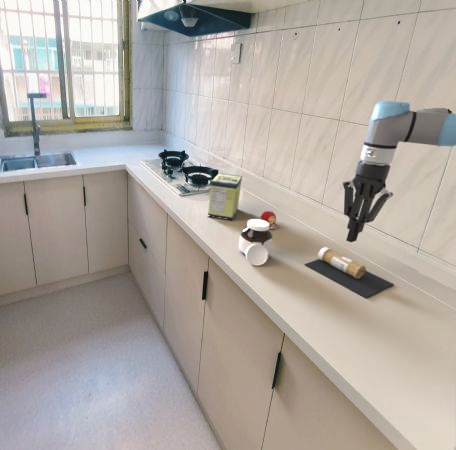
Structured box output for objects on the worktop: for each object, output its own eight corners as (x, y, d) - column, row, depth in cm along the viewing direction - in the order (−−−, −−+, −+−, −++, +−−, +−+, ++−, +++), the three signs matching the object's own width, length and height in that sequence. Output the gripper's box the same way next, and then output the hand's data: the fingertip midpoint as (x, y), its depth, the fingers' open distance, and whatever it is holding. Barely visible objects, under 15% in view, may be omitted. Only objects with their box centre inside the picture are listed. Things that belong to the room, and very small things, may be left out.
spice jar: (366, 263, 99) (326, 243, 110) (355, 272, 98) (316, 251, 109) (366, 273, 101) (327, 253, 112) (356, 282, 100) (318, 261, 111)
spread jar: (257, 247, 119) (262, 216, 114) (280, 262, 109) (287, 229, 105) (229, 253, 114) (233, 221, 109) (251, 269, 105) (257, 235, 100)
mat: (393, 285, 99) (394, 283, 99) (366, 298, 92) (366, 297, 92) (331, 255, 115) (332, 254, 115) (304, 265, 108) (304, 263, 108)
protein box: (237, 209, 153) (242, 175, 147) (232, 221, 140) (236, 185, 133) (215, 205, 156) (218, 172, 150) (207, 216, 143) (210, 181, 137)
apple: (280, 226, 137) (283, 211, 134) (272, 231, 131) (275, 216, 128) (262, 220, 141) (264, 205, 139) (253, 225, 136) (255, 210, 133)
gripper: (343, 158, 94) (323, 234, 104) (392, 169, 84) (365, 252, 94) (359, 156, 98) (338, 230, 107) (408, 166, 88) (380, 247, 97)
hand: (351, 240), depth 100 cm, fingers closed
